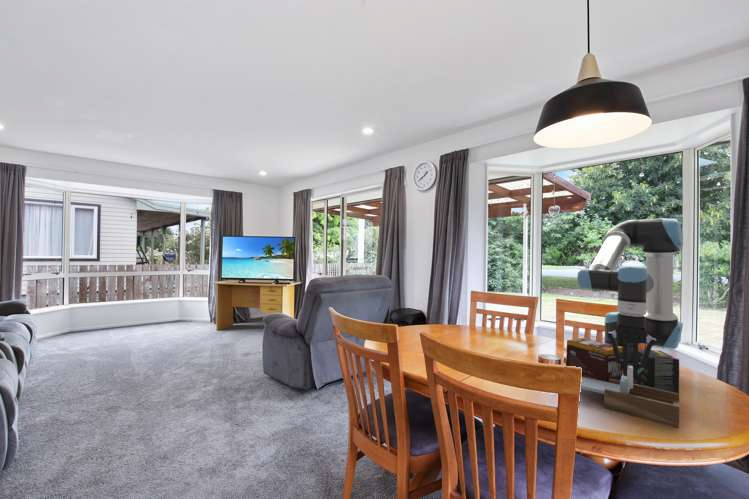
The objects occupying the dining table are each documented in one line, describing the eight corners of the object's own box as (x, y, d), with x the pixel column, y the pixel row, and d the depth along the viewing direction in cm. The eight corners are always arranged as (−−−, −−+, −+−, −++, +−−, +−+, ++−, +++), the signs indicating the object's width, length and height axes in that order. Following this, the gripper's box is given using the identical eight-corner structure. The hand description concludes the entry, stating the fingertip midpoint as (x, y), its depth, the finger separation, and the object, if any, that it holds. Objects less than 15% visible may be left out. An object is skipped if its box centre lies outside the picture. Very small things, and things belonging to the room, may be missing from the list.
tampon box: (679, 402, 116) (680, 359, 116) (648, 399, 118) (649, 357, 118) (659, 389, 127) (660, 349, 126) (631, 387, 128) (632, 347, 128)
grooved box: (609, 395, 120) (609, 378, 120) (677, 412, 109) (678, 393, 109) (604, 408, 110) (604, 389, 110) (678, 428, 99) (679, 407, 99)
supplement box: (606, 394, 122) (607, 350, 121) (565, 379, 135) (566, 339, 135) (623, 389, 126) (623, 346, 126) (581, 375, 140) (582, 336, 140)
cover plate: (575, 378, 126) (575, 364, 126) (629, 389, 115) (629, 375, 115) (569, 385, 118) (570, 371, 118) (627, 399, 108) (627, 383, 108)
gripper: (605, 313, 113) (604, 384, 113) (657, 318, 104) (655, 396, 104) (608, 310, 118) (607, 378, 118) (657, 315, 110) (656, 389, 110)
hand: (630, 386), depth 111 cm, fingers closed
